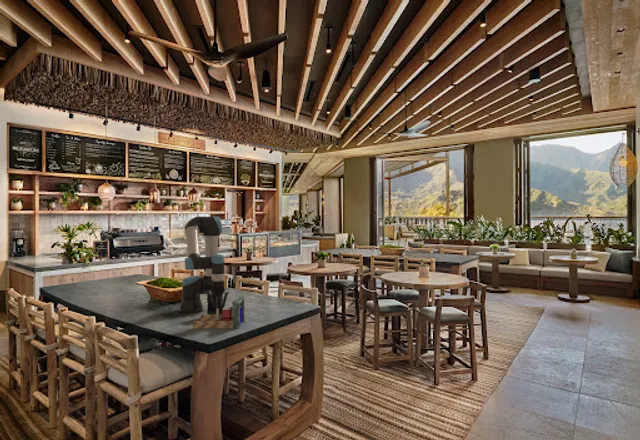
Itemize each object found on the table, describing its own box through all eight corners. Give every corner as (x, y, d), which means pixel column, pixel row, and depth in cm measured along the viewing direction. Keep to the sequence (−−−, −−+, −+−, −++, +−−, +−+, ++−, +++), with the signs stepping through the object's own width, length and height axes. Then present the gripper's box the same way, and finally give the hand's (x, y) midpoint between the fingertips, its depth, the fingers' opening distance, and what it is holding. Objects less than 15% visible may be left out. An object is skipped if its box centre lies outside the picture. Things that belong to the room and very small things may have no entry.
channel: (193, 328, 221) (192, 302, 221) (201, 321, 236) (200, 296, 236) (239, 328, 222) (239, 302, 221) (244, 320, 237) (244, 296, 236)
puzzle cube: (238, 326, 225) (238, 309, 225) (221, 326, 225) (221, 309, 224) (242, 321, 235) (242, 305, 235) (226, 321, 235) (225, 305, 235)
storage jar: (217, 314, 253) (216, 291, 253) (226, 316, 247) (226, 293, 247) (204, 317, 246) (203, 294, 246) (213, 319, 240) (212, 296, 239)
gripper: (205, 281, 225) (205, 321, 225) (227, 281, 225) (227, 321, 225) (209, 279, 232) (209, 318, 232) (230, 279, 232) (230, 318, 232)
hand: (218, 319), depth 229 cm, fingers closed
